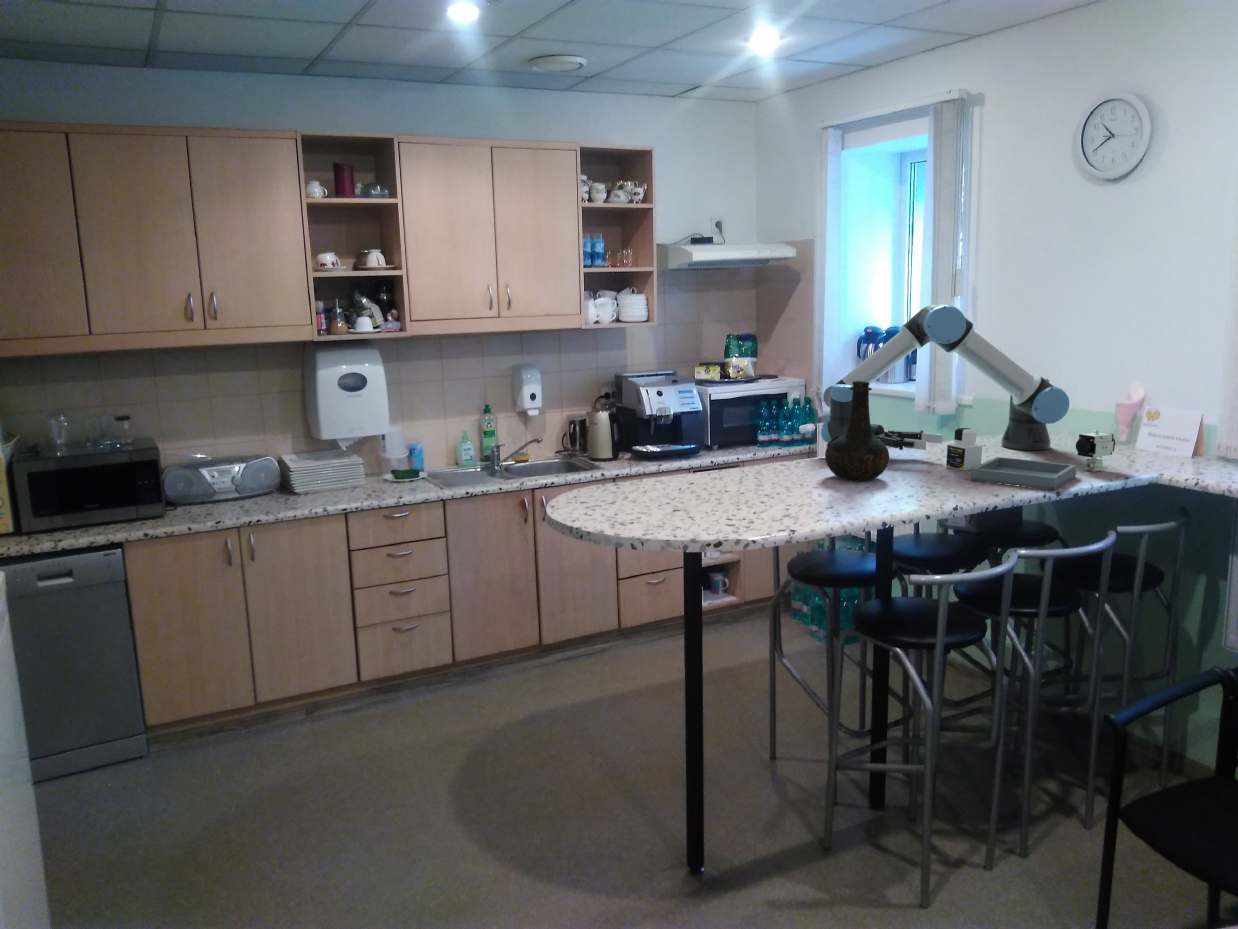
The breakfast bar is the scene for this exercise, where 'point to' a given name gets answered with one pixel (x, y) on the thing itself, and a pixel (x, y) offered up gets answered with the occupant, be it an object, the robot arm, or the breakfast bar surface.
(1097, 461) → the pneumatic valve
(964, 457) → the medicine bottle
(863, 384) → the glass bottle
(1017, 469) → the tray
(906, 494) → the breakfast bar surface
